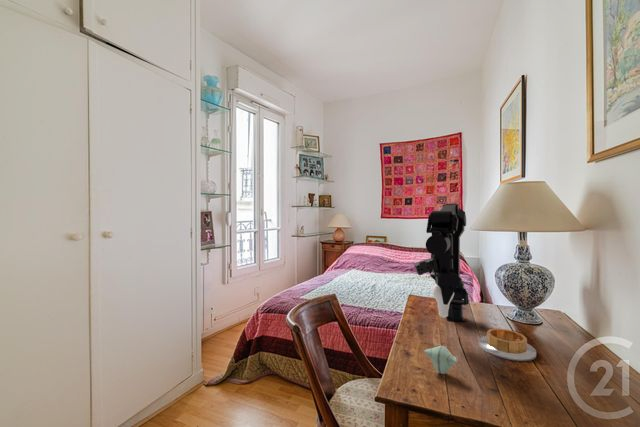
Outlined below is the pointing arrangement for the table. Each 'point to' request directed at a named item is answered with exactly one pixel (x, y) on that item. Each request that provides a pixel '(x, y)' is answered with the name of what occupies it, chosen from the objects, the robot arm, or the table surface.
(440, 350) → the robot head
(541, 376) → the table surface
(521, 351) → the wooden ring on plate
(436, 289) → the lightbulb
